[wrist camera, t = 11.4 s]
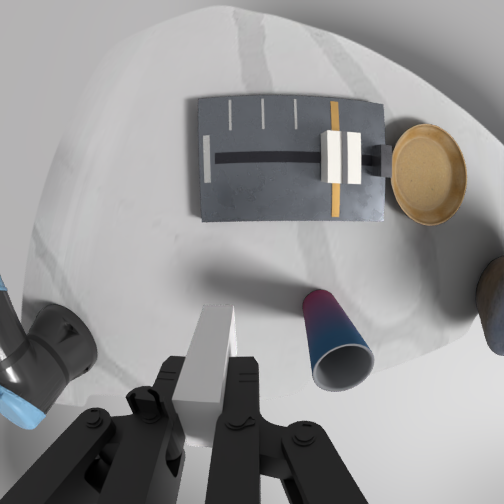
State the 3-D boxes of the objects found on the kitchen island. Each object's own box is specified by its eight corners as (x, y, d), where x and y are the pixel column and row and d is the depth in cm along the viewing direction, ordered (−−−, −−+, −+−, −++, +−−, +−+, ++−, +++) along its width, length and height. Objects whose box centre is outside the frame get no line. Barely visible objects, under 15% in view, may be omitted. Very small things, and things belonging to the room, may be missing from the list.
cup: (296, 285, 40) (314, 347, 25) (342, 282, 39) (379, 339, 25) (296, 325, 42) (310, 395, 27) (339, 322, 41) (368, 386, 27)
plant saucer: (469, 173, 34) (479, 175, 31) (425, 241, 37) (433, 245, 35) (415, 106, 31) (424, 103, 29) (363, 176, 35) (370, 177, 33)
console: (204, 219, 37) (196, 227, 32) (201, 102, 32) (192, 93, 28) (377, 218, 36) (392, 226, 32) (377, 107, 32) (392, 100, 27)
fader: (321, 181, 33) (328, 182, 29) (320, 133, 31) (327, 130, 28) (351, 182, 33) (361, 184, 29) (351, 135, 31) (361, 132, 28)
